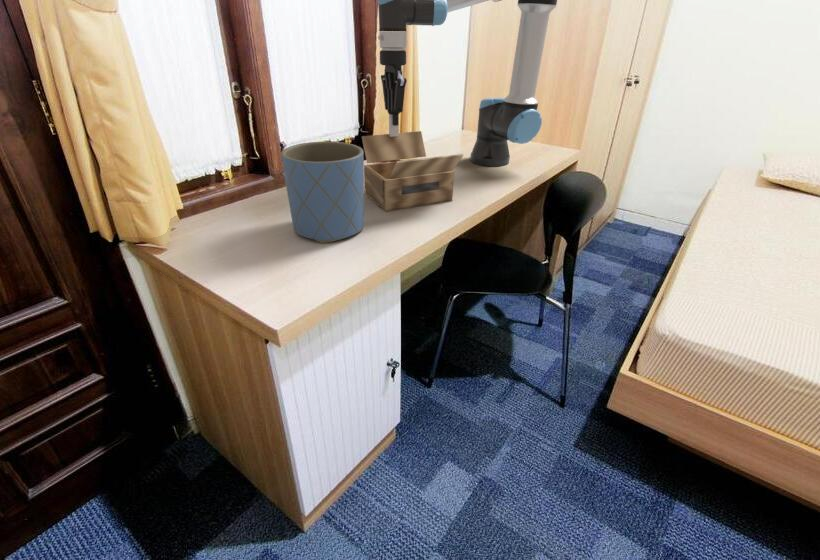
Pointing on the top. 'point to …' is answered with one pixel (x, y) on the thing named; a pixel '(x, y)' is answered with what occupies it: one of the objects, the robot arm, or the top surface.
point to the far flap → (393, 147)
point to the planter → (325, 189)
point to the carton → (406, 187)
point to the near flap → (425, 166)
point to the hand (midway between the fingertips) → (393, 135)
